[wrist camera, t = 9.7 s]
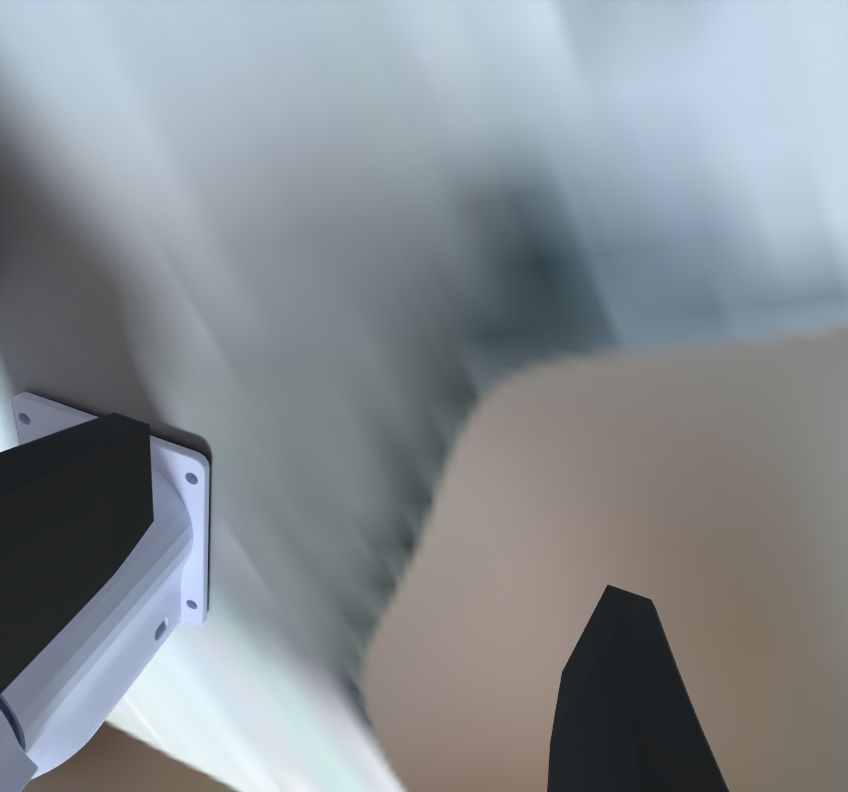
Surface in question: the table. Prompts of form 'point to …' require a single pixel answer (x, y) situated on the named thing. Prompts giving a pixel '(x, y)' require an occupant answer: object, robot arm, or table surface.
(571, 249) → the table surface
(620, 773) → the robot arm
